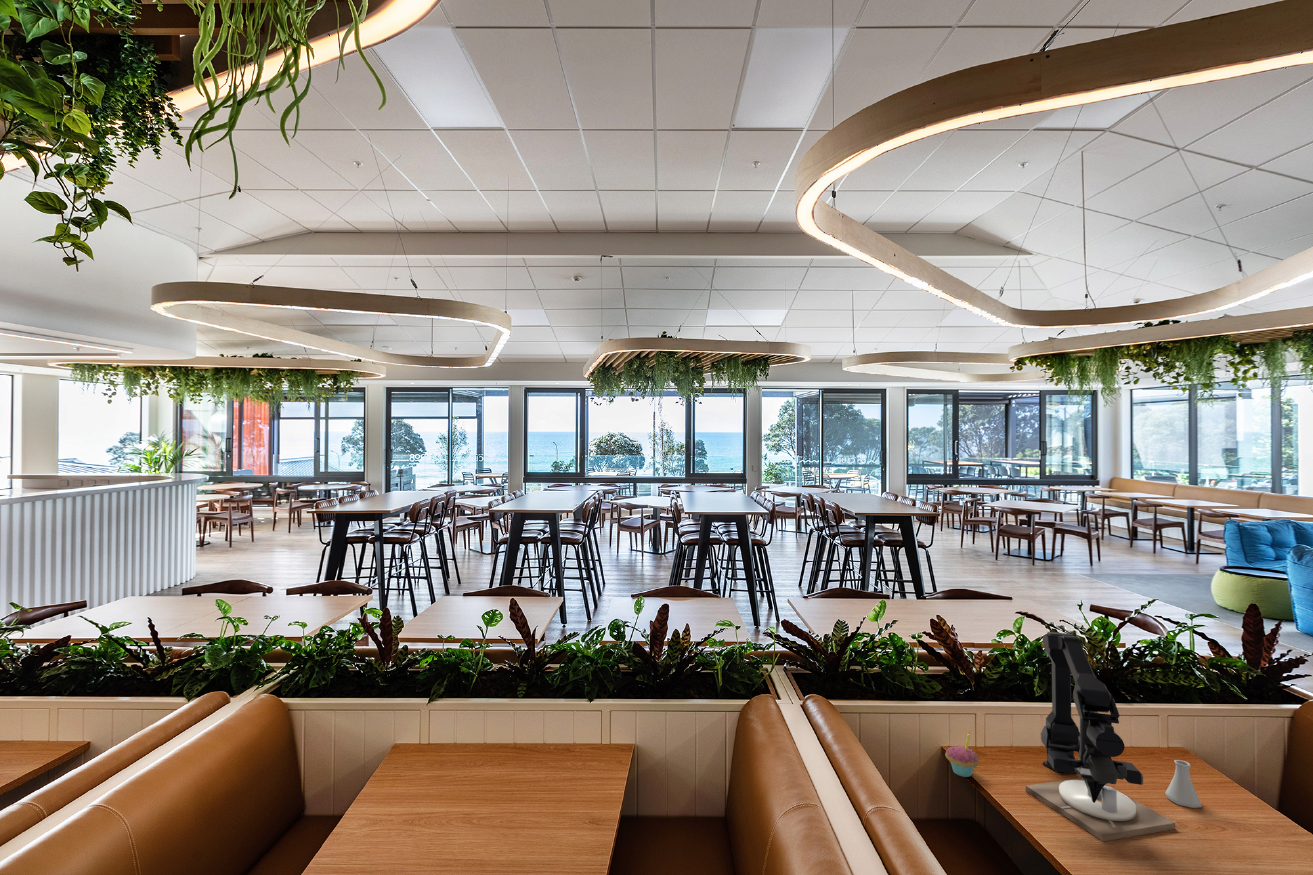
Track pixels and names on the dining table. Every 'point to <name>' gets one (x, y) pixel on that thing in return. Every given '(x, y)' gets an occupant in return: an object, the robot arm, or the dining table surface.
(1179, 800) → the flask
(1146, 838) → the dining table surface
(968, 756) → the cupcake
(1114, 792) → the dial
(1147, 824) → the dial base
